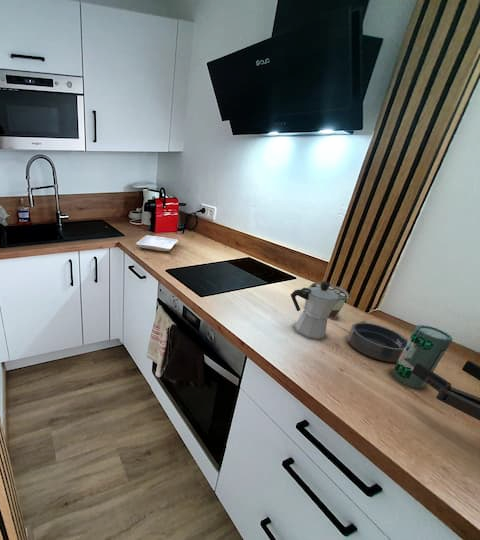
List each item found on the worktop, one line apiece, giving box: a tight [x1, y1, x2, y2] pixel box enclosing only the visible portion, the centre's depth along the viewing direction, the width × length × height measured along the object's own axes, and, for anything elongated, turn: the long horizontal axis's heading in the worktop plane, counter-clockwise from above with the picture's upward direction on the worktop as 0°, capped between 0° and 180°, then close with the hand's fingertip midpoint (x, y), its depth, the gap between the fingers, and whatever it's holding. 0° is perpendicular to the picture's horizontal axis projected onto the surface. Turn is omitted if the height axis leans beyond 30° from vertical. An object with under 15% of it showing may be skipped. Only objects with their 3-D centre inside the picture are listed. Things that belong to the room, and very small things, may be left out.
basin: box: [346, 322, 409, 363], centre depth 86 cm, size 13×13×5 cm
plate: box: [135, 234, 180, 252], centre depth 171 cm, size 21×21×3 cm
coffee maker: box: [290, 281, 345, 341], centre depth 91 cm, size 15×9×18 cm, turn 76°
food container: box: [309, 282, 350, 321], centre depth 105 cm, size 12×6×10 cm, turn 34°
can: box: [391, 324, 453, 389], centre depth 72 cm, size 6×6×15 cm
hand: (440, 366), depth 68 cm, fingers open, 13 cm apart
